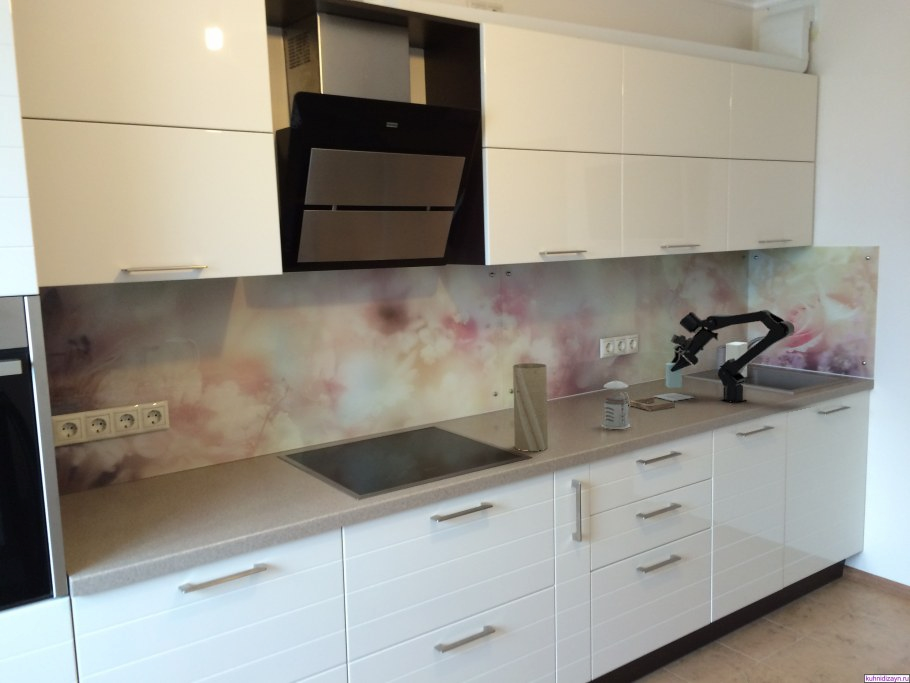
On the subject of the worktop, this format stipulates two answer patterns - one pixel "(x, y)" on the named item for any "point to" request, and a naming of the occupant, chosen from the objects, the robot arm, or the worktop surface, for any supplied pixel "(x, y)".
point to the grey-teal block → (673, 377)
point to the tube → (530, 406)
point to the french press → (616, 406)
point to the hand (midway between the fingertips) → (670, 370)
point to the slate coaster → (673, 396)
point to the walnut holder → (640, 404)
